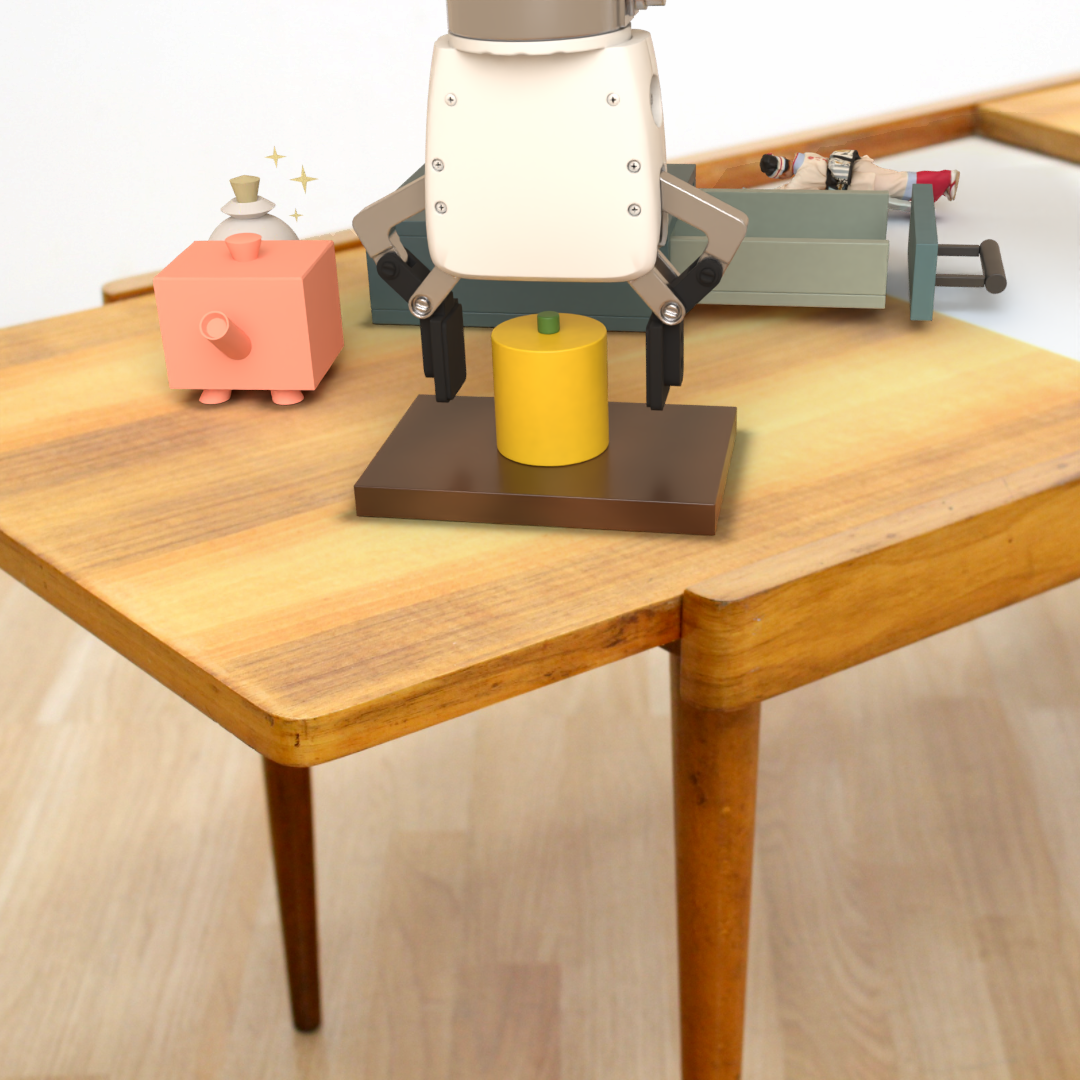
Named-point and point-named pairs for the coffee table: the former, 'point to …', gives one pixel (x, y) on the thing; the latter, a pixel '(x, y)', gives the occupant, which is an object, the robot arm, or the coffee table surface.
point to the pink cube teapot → (250, 316)
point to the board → (554, 471)
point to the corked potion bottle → (254, 210)
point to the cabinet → (518, 286)
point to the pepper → (550, 388)
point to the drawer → (831, 251)
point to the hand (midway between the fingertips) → (553, 395)
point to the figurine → (856, 176)
